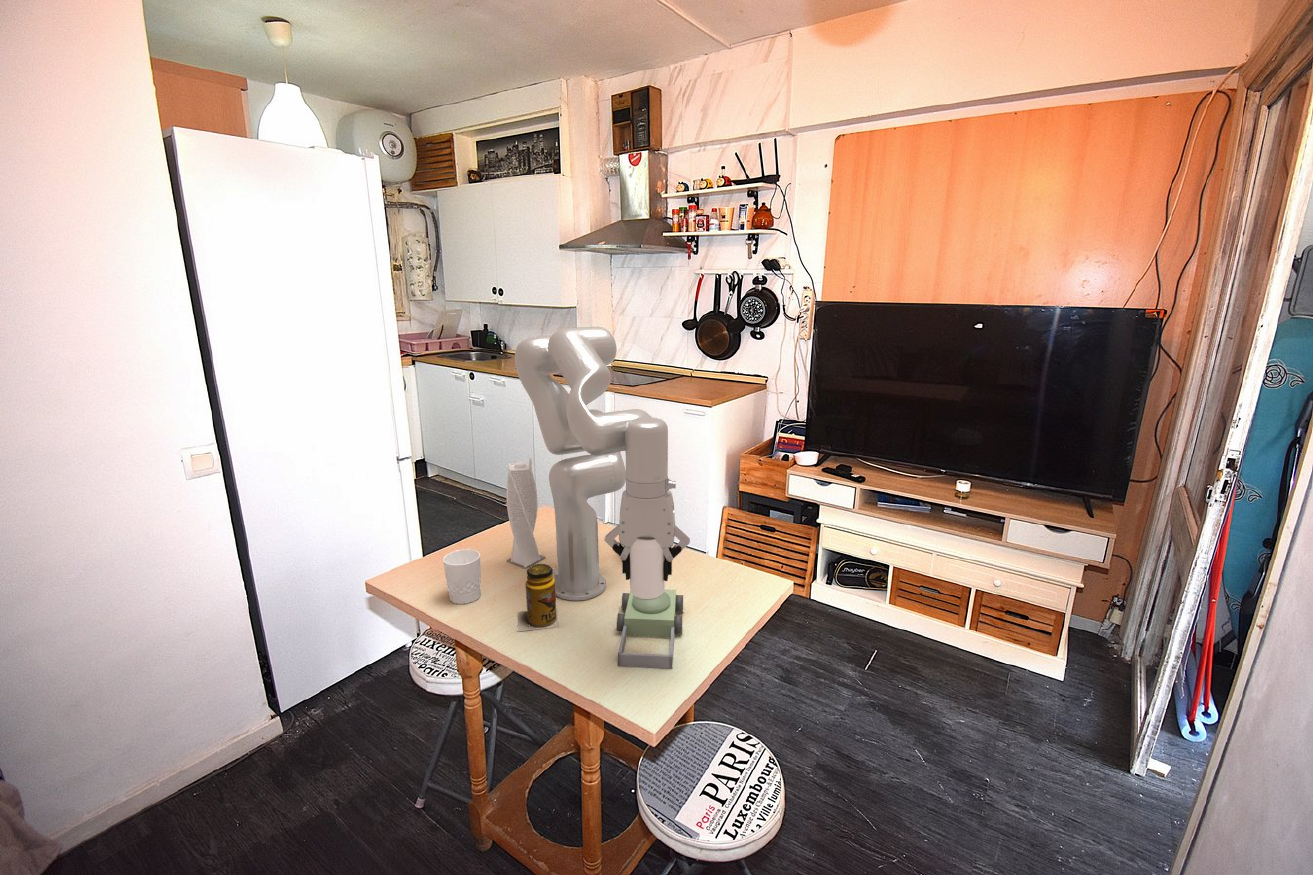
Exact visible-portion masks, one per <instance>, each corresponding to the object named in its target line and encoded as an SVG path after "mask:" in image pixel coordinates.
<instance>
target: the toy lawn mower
mask: <svg viewBox="0 0 1313 875" xmlns="http://www.w3.org/2000/svg"><path fill="white" fill-rule="evenodd" d="M621 610H622V611H625V612H618V613H617V618H616V631H617V632H621V635H620V641H619V646H618V651H617V655H616V656H617V667H629V668H647V669H648V668H652V669H668V670H669V669H670V670H672V669H673V665H674V664H673V663H674V650H675V649H674V648H675V647H674V646H675V635H683V615H678V614H677V613H684V595H683V594H677V590H676V589H671V588H670V589H665V588H664V593H663V594H662V595H661V596H660V597H658V598H656V599H652V600H642V599H638V598H636V597H635V596H633V594H632V593H631V591H629V592H622V595H621ZM676 614H677V615H676ZM627 637H641V638H643V637H644V638H661V639H663V638H665V639H667V638H668V639H670V641H669V642H670V643H669V654H658V653H655V654H654V653H637V652H625V647H626V643H627Z"/></svg>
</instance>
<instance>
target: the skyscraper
mask: <svg viewBox="0 0 1313 875" xmlns="http://www.w3.org/2000/svg"><path fill="white" fill-rule="evenodd" d="M532 465H533V462H532V458H531V457H529V459H528V463H526V462H525V461H518V462H515V463H514V464H512V463H510V462H509V463H508V464H507V476H506V477H507V478H506V509H507V514H508V515H507V516H508V522H509V525H510V529H511V532H512V535H513V541H512V548H511V549H512V550H511V557H510V558H507V559H506V563H510V564H512V565H516V566H518V567H521V568H524V569H527V570H528V568H529V567H531V566H533V565H535V564H539V563H540V562H541V561H544V560H545V559H546V558H547V557H546V556H545V555H543V554H541V553H540V552H539V548H538V545H537V542H536V539H535V536H534V531H535V526H536V522H537V515H538V502H539V501H538V492H537V486H536V482H535V477H534V473H533V470H532Z"/></svg>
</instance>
